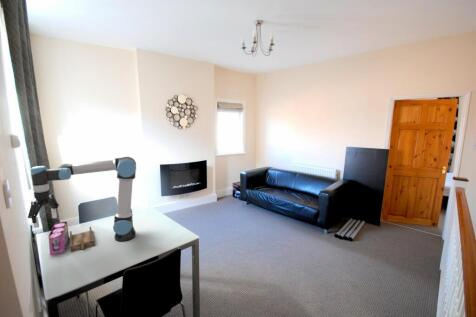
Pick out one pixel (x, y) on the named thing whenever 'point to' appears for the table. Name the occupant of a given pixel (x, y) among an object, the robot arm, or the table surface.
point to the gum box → (58, 238)
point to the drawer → (81, 240)
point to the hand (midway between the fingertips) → (46, 222)
